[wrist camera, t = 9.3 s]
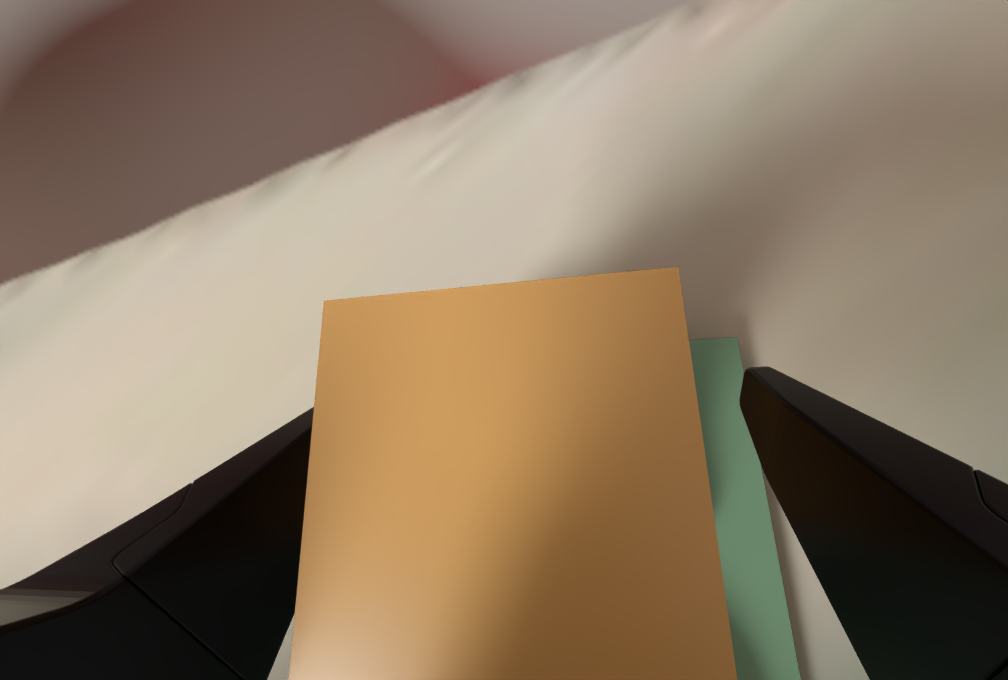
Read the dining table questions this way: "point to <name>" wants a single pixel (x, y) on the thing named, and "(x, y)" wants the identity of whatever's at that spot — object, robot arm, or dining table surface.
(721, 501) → the green domed base plate
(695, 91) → the dining table surface
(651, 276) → the chute block
